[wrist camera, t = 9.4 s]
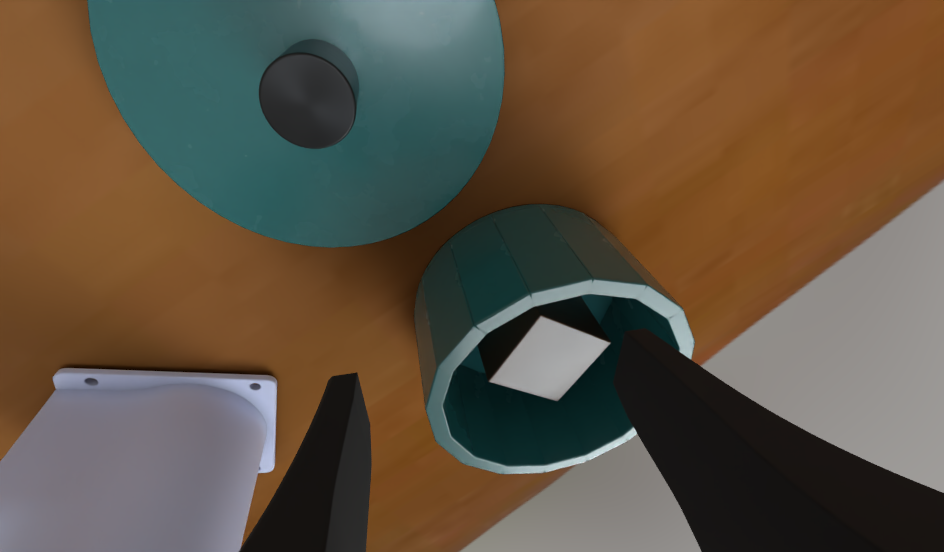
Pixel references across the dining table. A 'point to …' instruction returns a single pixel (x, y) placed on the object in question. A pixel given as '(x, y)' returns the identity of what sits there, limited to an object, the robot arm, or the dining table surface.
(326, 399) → the robot arm
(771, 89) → the dining table surface
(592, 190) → the dining table surface
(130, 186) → the dining table surface
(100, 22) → the lid
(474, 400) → the tin
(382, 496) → the dining table surface
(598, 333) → the block
